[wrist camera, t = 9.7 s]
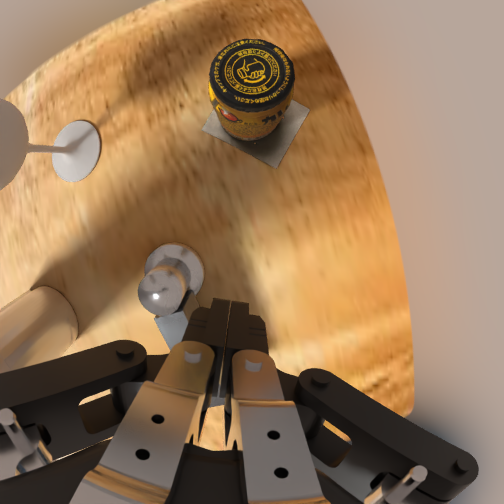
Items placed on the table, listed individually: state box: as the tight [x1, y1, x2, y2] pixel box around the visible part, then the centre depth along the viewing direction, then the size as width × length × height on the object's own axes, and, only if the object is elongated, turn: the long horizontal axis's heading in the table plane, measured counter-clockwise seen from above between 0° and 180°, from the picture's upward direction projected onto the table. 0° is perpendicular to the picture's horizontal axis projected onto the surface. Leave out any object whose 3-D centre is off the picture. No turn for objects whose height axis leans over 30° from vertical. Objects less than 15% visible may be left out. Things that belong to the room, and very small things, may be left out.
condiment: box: [202, 39, 310, 169], centre depth 20 cm, size 7×8×12 cm
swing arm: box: [138, 257, 225, 407], centre depth 27 cm, size 16×4×5 cm, turn 18°
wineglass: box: [0, 99, 100, 190], centre depth 16 cm, size 8×8×21 cm
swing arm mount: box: [144, 242, 205, 295], centre depth 29 cm, size 6×6×1 cm
